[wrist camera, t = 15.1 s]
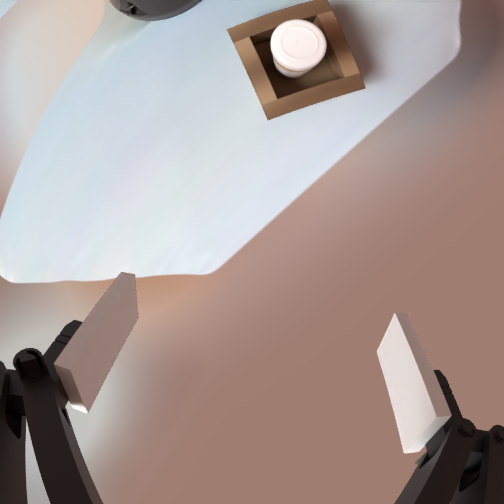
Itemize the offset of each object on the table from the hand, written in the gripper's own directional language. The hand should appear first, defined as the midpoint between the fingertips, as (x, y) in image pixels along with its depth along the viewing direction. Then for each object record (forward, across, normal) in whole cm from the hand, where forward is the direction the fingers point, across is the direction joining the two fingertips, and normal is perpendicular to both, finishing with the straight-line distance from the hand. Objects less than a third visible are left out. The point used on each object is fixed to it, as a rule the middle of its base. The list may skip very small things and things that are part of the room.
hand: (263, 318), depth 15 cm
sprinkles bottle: (+28, 0, +15) cm, 32 cm away
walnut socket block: (+29, 0, +15) cm, 32 cm away
